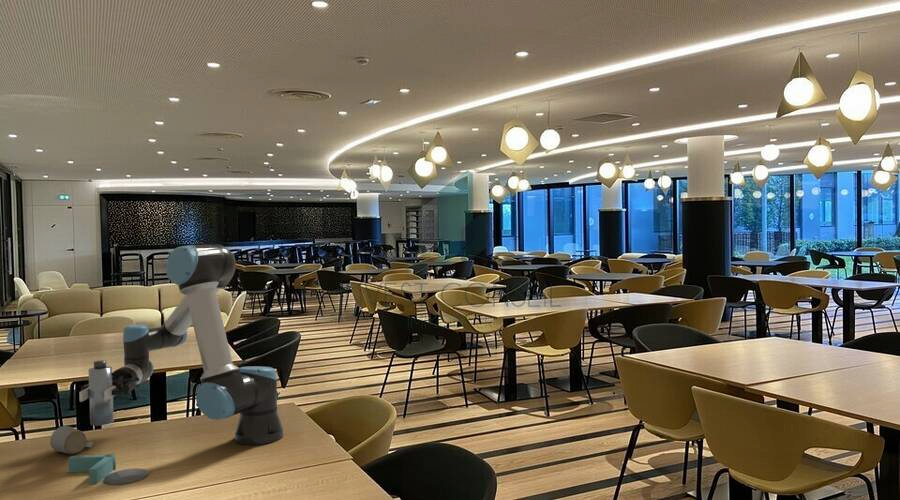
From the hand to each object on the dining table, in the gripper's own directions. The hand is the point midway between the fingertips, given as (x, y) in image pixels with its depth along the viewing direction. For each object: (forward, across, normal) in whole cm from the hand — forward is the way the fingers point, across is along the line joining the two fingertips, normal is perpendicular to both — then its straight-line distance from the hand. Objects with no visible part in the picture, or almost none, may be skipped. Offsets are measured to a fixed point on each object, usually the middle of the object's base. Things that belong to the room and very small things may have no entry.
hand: (93, 396), depth 186 cm
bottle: (-5, 0, -9) cm, 10 cm away
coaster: (+8, -11, -21) cm, 25 cm away
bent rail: (+6, 0, -21) cm, 22 cm away
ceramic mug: (-18, +14, -21) cm, 31 cm away
